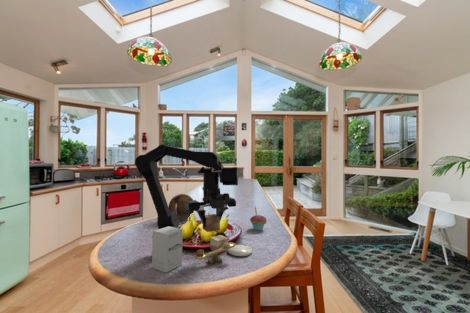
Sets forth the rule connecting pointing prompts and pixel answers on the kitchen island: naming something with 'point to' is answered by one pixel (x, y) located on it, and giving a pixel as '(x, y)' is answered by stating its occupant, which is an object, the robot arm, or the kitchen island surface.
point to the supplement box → (167, 248)
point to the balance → (213, 253)
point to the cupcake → (258, 221)
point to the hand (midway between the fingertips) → (211, 226)
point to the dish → (240, 250)
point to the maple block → (217, 242)
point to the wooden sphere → (180, 206)
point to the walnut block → (212, 223)
